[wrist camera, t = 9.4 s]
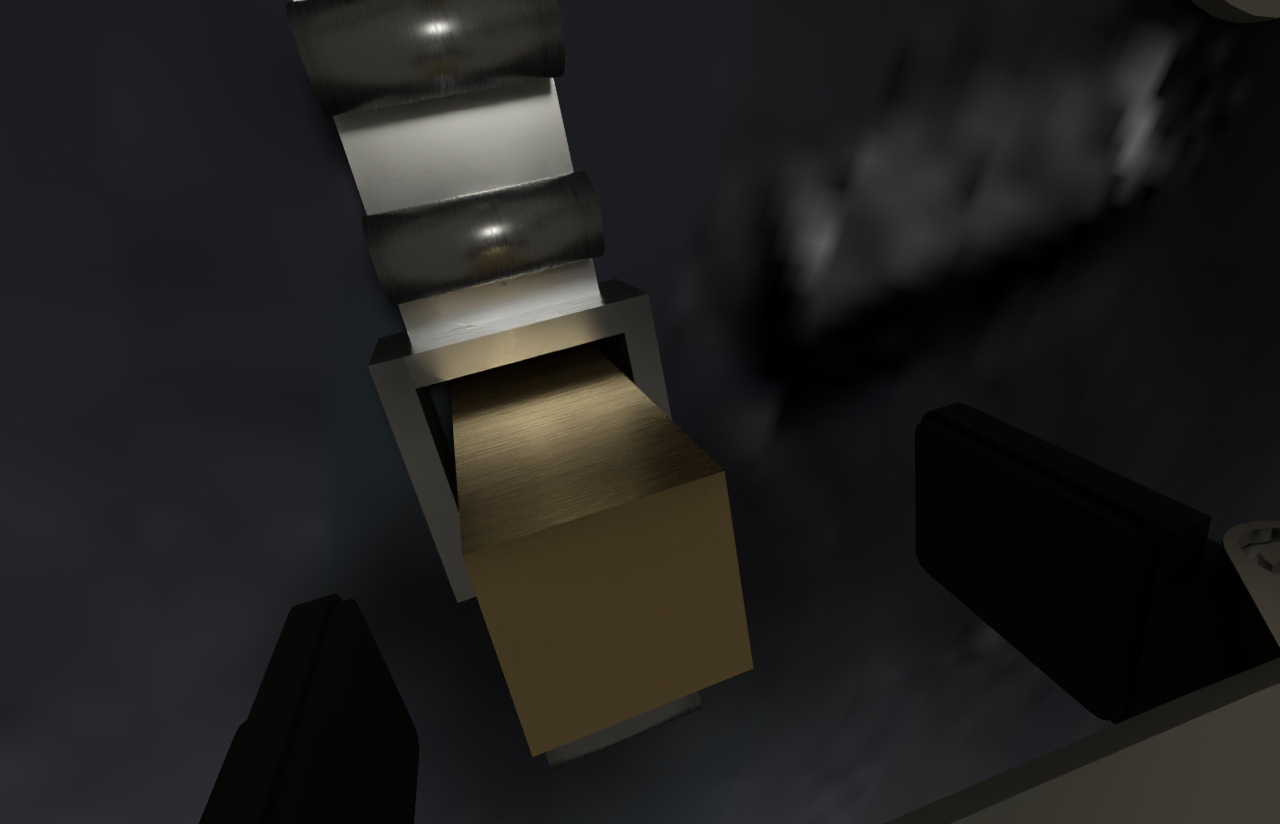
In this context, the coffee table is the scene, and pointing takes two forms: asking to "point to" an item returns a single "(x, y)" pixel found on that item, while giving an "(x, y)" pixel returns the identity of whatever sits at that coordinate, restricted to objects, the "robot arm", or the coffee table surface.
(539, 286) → the grey segmented bar
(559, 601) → the brown rectangular block
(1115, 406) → the coffee table surface
